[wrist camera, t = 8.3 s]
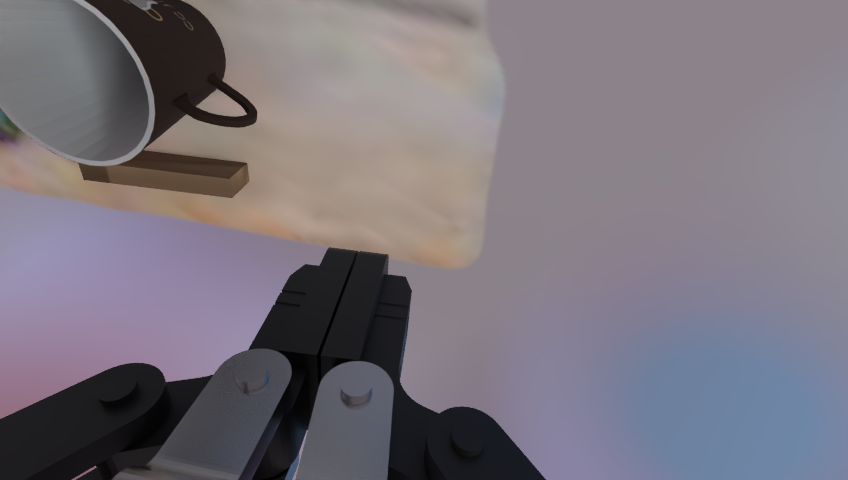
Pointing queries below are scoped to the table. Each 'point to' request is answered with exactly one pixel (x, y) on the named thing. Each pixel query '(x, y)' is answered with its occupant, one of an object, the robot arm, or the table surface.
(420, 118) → the table surface
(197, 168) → the walnut corral
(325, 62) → the table surface
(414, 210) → the table surface
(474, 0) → the table surface
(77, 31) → the coffee mug
